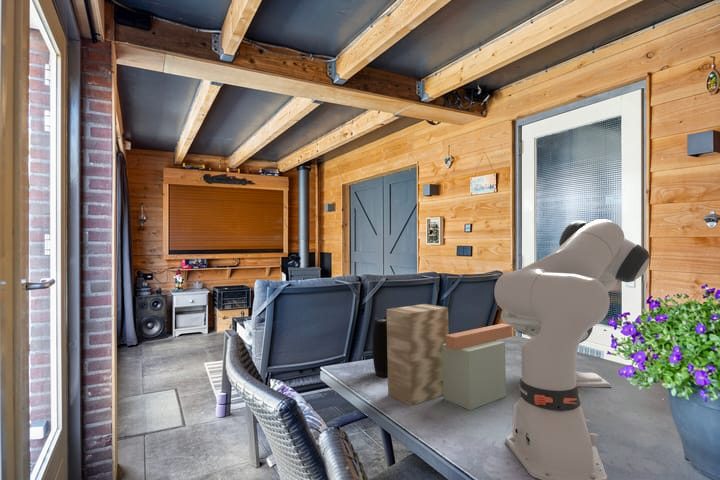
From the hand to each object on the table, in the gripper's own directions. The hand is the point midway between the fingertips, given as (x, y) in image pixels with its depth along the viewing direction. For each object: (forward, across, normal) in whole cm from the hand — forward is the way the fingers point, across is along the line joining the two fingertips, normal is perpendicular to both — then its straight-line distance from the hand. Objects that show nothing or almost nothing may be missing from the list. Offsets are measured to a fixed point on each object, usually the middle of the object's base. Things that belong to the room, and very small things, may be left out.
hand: (518, 309), depth 132 cm
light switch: (-27, -12, -12) cm, 32 cm away
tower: (+16, +12, -37) cm, 43 cm away
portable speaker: (+13, +33, -36) cm, 50 cm away
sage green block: (+7, 0, -32) cm, 32 cm away
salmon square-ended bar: (+13, 0, -16) cm, 21 cm away
